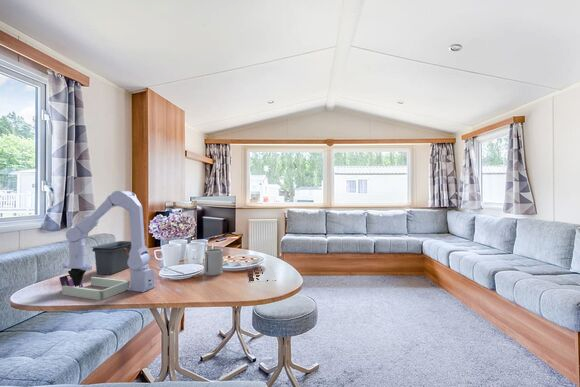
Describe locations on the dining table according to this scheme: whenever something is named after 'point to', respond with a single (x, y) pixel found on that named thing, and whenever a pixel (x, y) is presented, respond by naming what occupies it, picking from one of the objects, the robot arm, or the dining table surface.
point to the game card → (65, 281)
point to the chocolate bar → (250, 274)
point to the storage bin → (112, 257)
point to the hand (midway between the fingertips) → (77, 285)
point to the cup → (213, 261)
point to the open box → (113, 289)
